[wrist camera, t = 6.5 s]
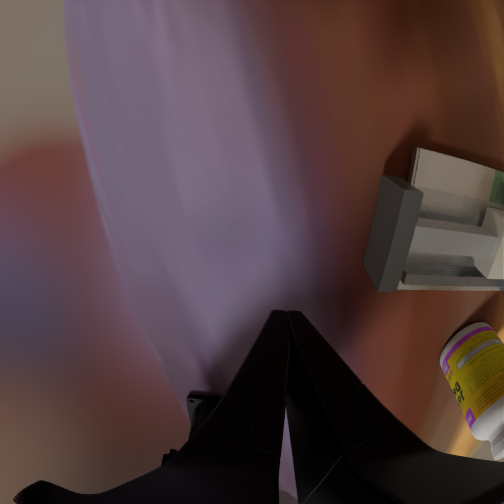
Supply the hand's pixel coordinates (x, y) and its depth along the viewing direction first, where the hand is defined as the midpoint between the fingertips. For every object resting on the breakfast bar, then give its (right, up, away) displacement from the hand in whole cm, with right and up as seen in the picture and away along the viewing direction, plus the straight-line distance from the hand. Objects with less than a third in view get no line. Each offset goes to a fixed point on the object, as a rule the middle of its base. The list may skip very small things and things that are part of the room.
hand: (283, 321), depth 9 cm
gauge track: (+16, +4, +10) cm, 19 cm away
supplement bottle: (+20, -7, +15) cm, 27 cm away
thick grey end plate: (+13, +4, +8) cm, 16 cm away
